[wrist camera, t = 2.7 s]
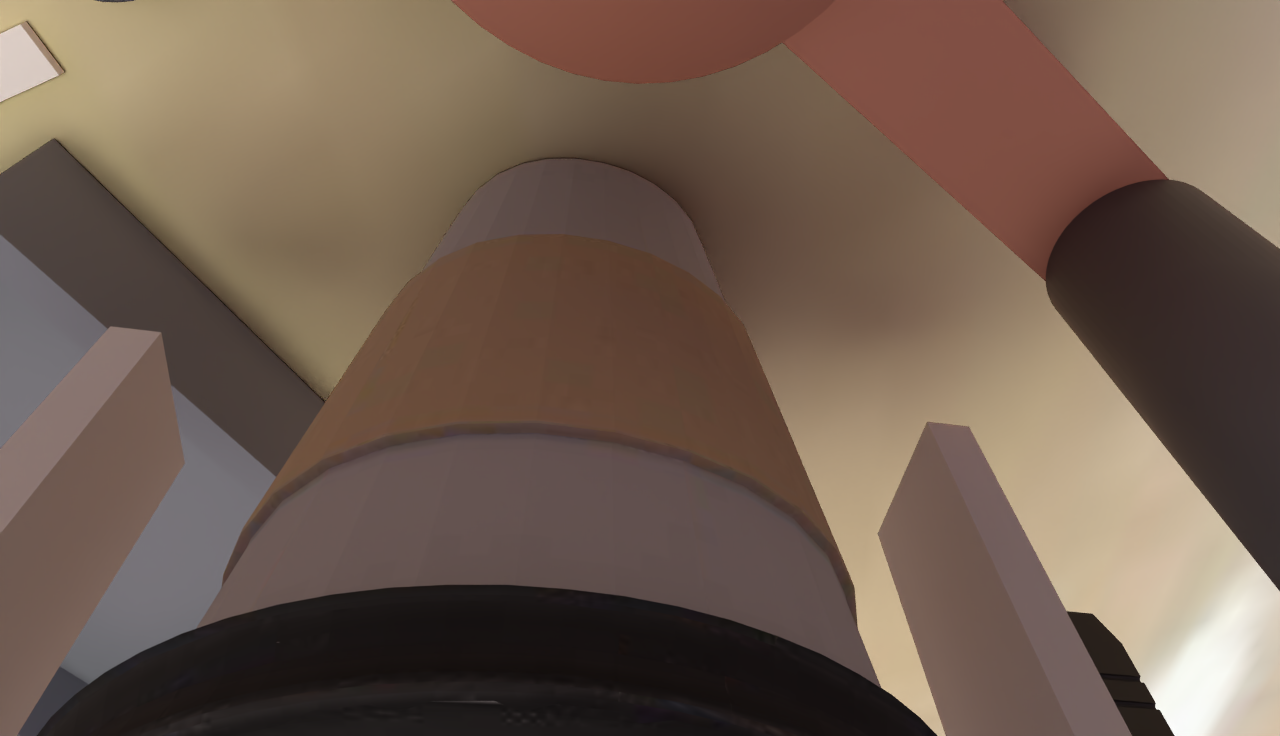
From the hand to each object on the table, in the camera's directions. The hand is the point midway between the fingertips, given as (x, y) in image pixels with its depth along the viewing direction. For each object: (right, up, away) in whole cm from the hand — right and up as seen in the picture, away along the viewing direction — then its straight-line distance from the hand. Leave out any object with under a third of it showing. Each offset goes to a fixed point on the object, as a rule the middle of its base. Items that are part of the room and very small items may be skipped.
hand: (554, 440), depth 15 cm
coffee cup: (0, +3, +5) cm, 6 cm away
